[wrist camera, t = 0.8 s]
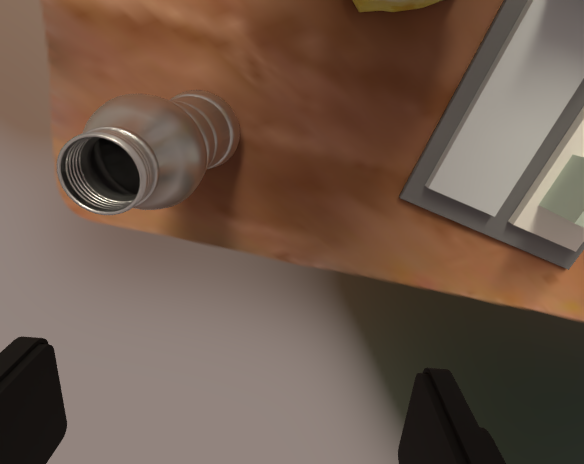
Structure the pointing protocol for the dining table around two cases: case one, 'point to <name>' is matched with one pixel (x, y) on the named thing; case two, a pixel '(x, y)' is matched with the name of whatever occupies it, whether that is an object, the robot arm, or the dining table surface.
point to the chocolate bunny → (391, 5)
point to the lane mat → (499, 224)
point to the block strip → (529, 214)
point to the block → (568, 192)
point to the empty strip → (514, 105)
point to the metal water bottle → (147, 151)
